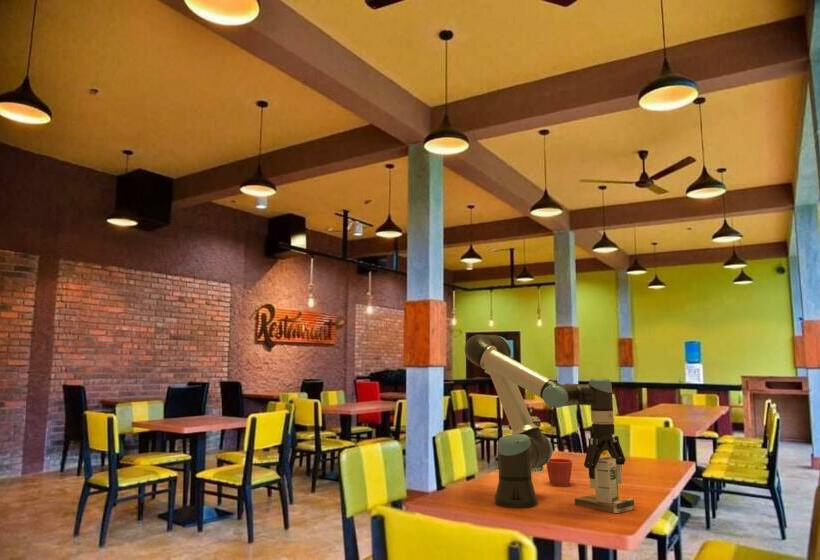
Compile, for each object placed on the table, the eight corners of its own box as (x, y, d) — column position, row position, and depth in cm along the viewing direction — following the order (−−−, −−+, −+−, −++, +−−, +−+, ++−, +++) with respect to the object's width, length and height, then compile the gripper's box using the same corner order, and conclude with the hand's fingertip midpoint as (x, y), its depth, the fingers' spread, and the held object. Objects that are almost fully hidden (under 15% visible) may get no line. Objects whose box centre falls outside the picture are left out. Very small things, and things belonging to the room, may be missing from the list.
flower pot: (570, 481, 247) (569, 458, 248) (575, 487, 236) (574, 462, 237) (545, 481, 248) (544, 458, 249) (548, 487, 237) (547, 462, 238)
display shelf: (617, 513, 192) (616, 502, 193) (575, 504, 206) (574, 494, 207) (635, 509, 198) (634, 498, 199) (592, 500, 212) (592, 490, 212)
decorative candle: (532, 469, 278) (530, 415, 282) (548, 471, 271) (546, 416, 274) (520, 471, 272) (518, 416, 276) (536, 474, 265) (533, 417, 269)
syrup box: (611, 504, 197) (609, 459, 199) (595, 501, 201) (593, 458, 203) (619, 501, 201) (616, 457, 204) (602, 498, 205) (600, 456, 208)
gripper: (589, 426, 195) (592, 492, 192) (633, 421, 209) (637, 483, 206) (571, 424, 201) (574, 488, 198) (615, 420, 215) (618, 480, 212)
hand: (606, 486), depth 202 cm, fingers open, 13 cm apart
